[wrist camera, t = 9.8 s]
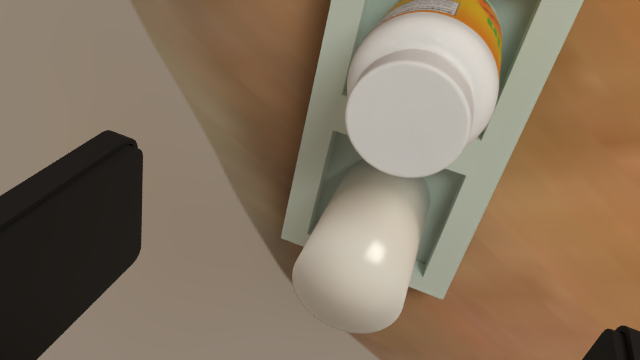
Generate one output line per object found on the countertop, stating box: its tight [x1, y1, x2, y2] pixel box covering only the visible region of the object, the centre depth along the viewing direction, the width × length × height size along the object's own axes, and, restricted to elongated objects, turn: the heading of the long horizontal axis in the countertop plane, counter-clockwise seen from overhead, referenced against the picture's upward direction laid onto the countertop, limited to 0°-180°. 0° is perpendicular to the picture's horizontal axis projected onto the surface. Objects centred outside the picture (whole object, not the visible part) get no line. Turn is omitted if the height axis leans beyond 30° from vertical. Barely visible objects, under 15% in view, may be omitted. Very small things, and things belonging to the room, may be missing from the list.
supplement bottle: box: [345, 0, 502, 178], centre depth 21 cm, size 5×5×10 cm
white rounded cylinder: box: [292, 159, 430, 333], centre depth 27 cm, size 5×5×8 cm
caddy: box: [281, 0, 584, 299], centre depth 27 cm, size 18×10×2 cm, turn 168°
